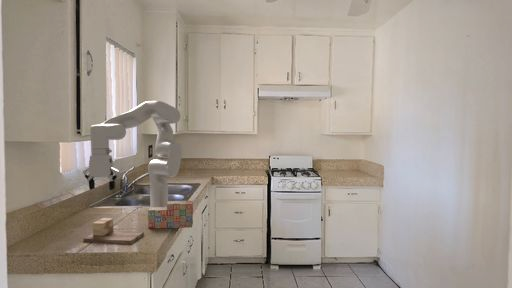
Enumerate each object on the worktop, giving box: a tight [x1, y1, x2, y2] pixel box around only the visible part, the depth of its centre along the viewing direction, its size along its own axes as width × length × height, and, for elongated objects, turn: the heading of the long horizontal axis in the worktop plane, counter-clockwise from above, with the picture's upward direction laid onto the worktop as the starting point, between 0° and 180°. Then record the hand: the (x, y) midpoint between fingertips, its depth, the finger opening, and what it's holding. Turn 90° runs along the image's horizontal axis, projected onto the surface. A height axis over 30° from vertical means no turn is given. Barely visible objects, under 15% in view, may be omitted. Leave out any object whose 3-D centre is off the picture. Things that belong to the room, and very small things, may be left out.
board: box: [82, 230, 145, 245], centre depth 155 cm, size 12×22×2 cm, turn 82°
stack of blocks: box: [147, 200, 194, 229], centre depth 173 cm, size 21×6×12 cm, turn 96°
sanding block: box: [92, 217, 114, 237], centre depth 157 cm, size 8×5×6 cm, turn 172°
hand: (102, 189), depth 158 cm, fingers open, 9 cm apart
